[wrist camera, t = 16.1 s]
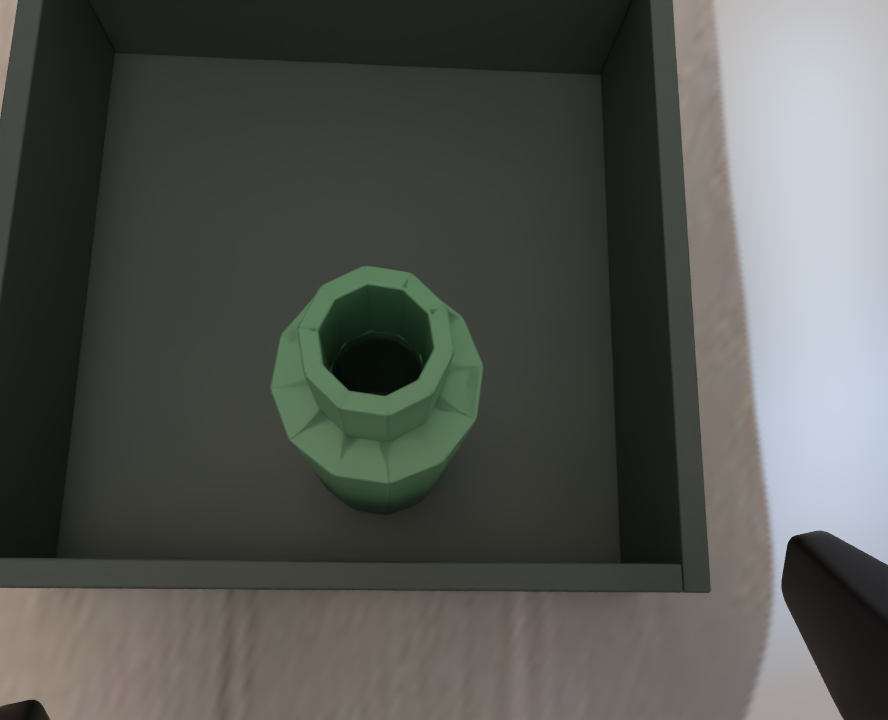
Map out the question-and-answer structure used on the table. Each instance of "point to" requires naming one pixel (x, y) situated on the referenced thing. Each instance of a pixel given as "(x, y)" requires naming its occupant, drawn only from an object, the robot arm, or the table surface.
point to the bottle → (377, 387)
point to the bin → (329, 257)
